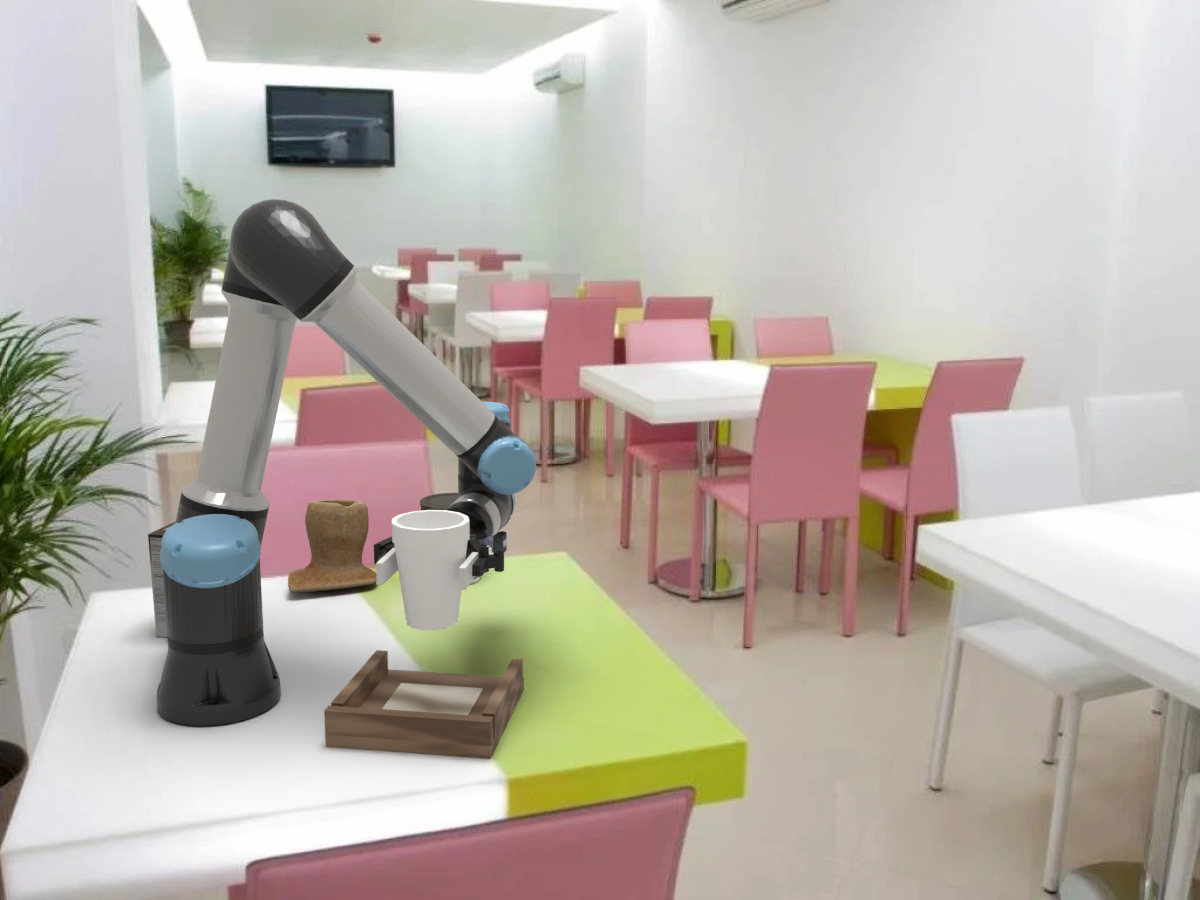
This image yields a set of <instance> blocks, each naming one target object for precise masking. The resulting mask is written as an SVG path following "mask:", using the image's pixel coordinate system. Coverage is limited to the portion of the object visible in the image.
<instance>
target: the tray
mask: <svg viewBox="0 0 1200 900" xmlns="http://www.w3.org/2000/svg"><path fill="white" fill-rule="evenodd" d="M388 656H389V655H388V650H380V649H376V650H375V651H374V653H373V654H372V655H371V656H370V657H369V658H368V660H366V662H365V663H364V664H363V665H362V667H361V668H360V669H359V670H358V671H357V672H356V673H355V675H353V677H352V678H351V679H350V680H349V682H348V683H347V684H346V685H345V686H344V687H343V689H342V690H341V691H340V692H339V693H338V694H337V695H336V697H335V698H334V699H332V701H331V702H330V705H328V706H327V707H326V708H325V709H324V711H323V715H324V716H323V717H324V719H323V720H324V739H325V741H324V742H325V747H332V748H343V749H345V748H346V749H360V750H373V751H389V752H399V753H401V752H402V753H413V754H414V753H415V754H430V755H439V756H455V757H457V756H458V757H468V758H469V757H470V758H480V759H481V758H483V759H491V758H492V756H493V754H494V752H495V750H496V748H497V746H498V743H499V742H500V740H501V737H502V736H503V734H504V731H505V729H506V727H507V726H508V723H509V721H510V719H511V717H512V715H513V713H514V710H515V708H516V707H517V704H518V702H519V700H520V698H521V696H522V693H523V692H524V690H525V677H524V659H523V658H511V659H510V660H509V662H508V665H507V666H506V668H505V671H504V672H503V674H502V676H496V675H478V674H465V673H464V674H463V673H451V672H450V673H448V672H434V671H433V672H432V671H417V670H401V669H400V670H399V669H389V661H388V660H389V659H388V658H389V657H388Z"/></svg>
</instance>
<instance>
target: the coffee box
mask: <svg viewBox="0 0 1200 900" xmlns="http://www.w3.org/2000/svg"><path fill="white" fill-rule="evenodd" d="M175 522H176V521H174V522H172V523H170V524H166V525H165V526H163V527H160V528H159V529H157V530H154V531H152V532H149V533H148V534H147V541H148V552H149V563H150V575H151V576H150V577H151V588H152V601H153V602H152V603H153V610H154V611H153V612H154V623H155V624H154V625H155V635H156V637H158V638H167V624H166V608H165V594H164V580H163V567H162V565H161V562H160V551H161V543H162V538H163V535H164V533H165V532H166V531H167V530H168V529H169V528H170V527H171V526H172V525H174V524H175Z"/></svg>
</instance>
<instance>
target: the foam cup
mask: <svg viewBox="0 0 1200 900" xmlns="http://www.w3.org/2000/svg"><path fill="white" fill-rule="evenodd" d="M391 536H392V542H393V543H394V545H395V552H396V558H397V565H398V571H397V572H398V577H399V582H400V590H401V595H402V603H403V609H404V615H405V620H406V625H407V626H409V627H410V628H411V629H416V630H421V631H437V630H446V629H447V628H451V627H454V625H456V624H457V623H458V618H459V616H460V614H459V613H460V607H461V606H460V605H461V597H462V591H463V590H459V567H460V566H461V565H462V564H463V563H464V561H465V559H466V551H467V543H468V540H469V539H470V530H469V518H468V516H466V515H464V514H462V513H459V512H453V511H447V510H422V511H421V510H412V511H409V512H405V513H404V512H403V513H400V514H397V515H396V516H394V517H393V518H391Z"/></svg>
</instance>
